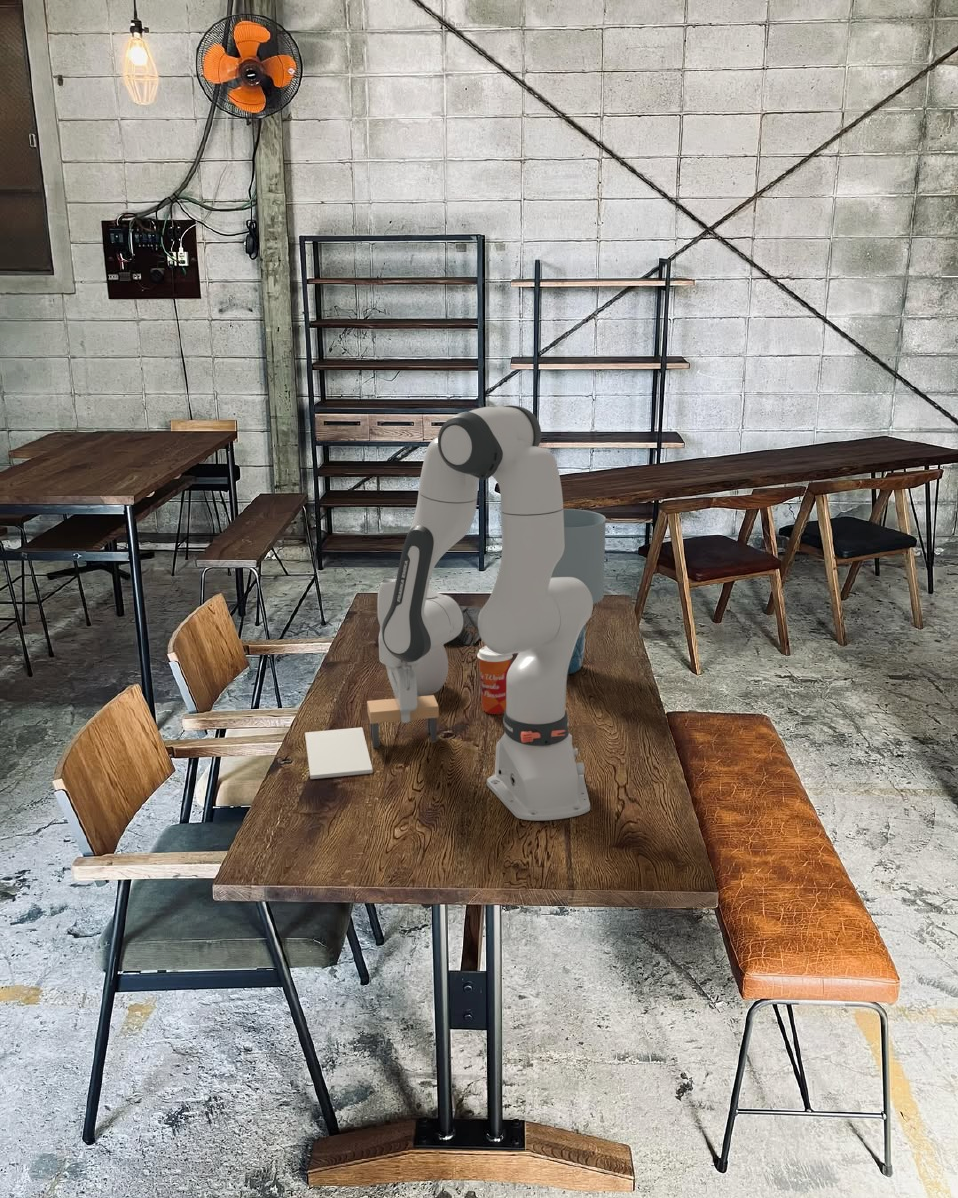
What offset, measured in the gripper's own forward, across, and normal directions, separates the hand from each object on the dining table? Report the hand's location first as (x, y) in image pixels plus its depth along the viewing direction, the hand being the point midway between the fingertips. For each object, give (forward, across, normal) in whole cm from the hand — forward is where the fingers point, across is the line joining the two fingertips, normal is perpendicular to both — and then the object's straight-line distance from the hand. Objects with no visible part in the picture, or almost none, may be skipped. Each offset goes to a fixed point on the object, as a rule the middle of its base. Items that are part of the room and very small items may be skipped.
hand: (402, 714), depth 219 cm
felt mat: (+6, -4, +14) cm, 16 cm away
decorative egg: (+6, +26, -8) cm, 28 cm away
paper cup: (+6, +11, -22) cm, 25 cm away
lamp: (+6, +31, -43) cm, 53 cm away
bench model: (+6, 0, 0) cm, 6 cm away
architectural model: (+6, +68, -24) cm, 73 cm away
